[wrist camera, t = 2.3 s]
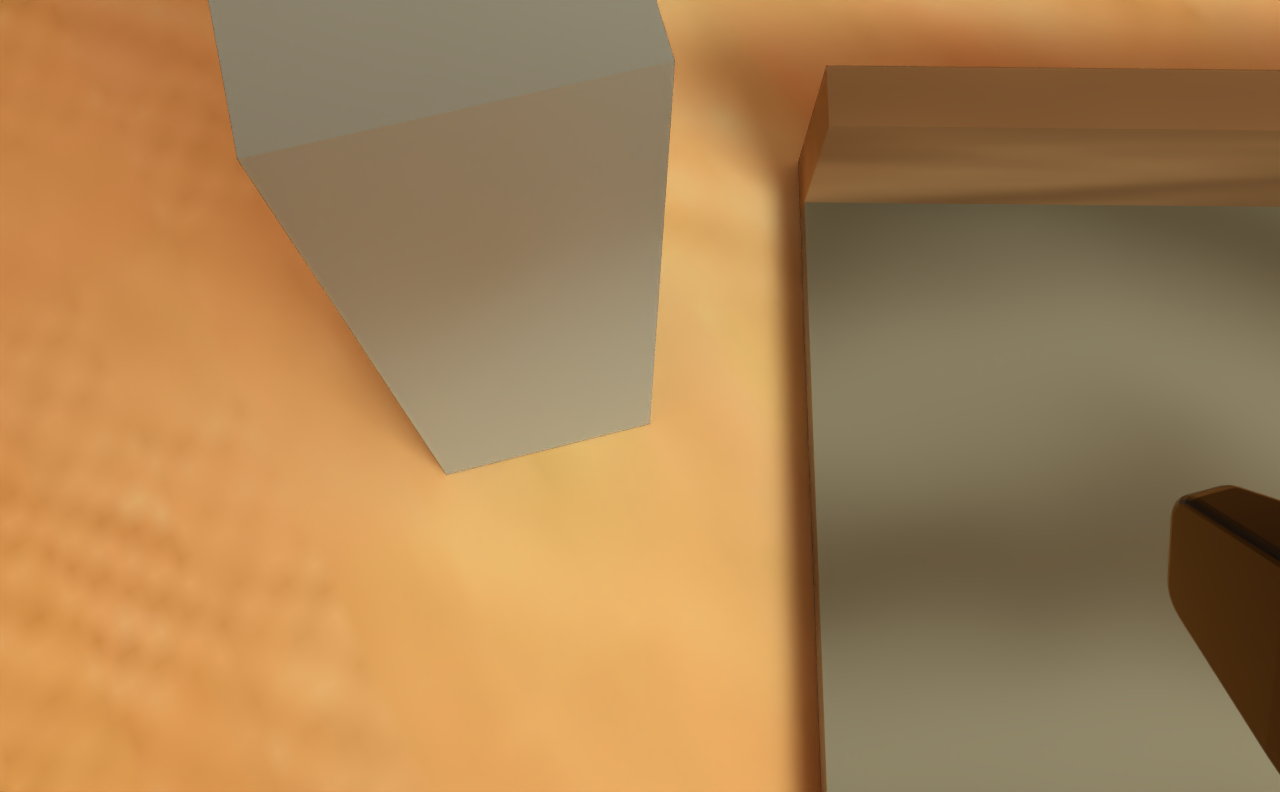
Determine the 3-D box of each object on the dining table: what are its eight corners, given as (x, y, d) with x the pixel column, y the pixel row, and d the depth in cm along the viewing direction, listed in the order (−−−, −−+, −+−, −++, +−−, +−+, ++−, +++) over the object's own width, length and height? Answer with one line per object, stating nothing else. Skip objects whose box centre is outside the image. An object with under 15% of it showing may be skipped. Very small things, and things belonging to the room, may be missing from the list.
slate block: (649, 423, 23) (675, 62, 11) (446, 474, 22) (237, 159, 10) (598, 238, 24) (570, -277, 12) (404, 285, 23) (171, -199, 11)
